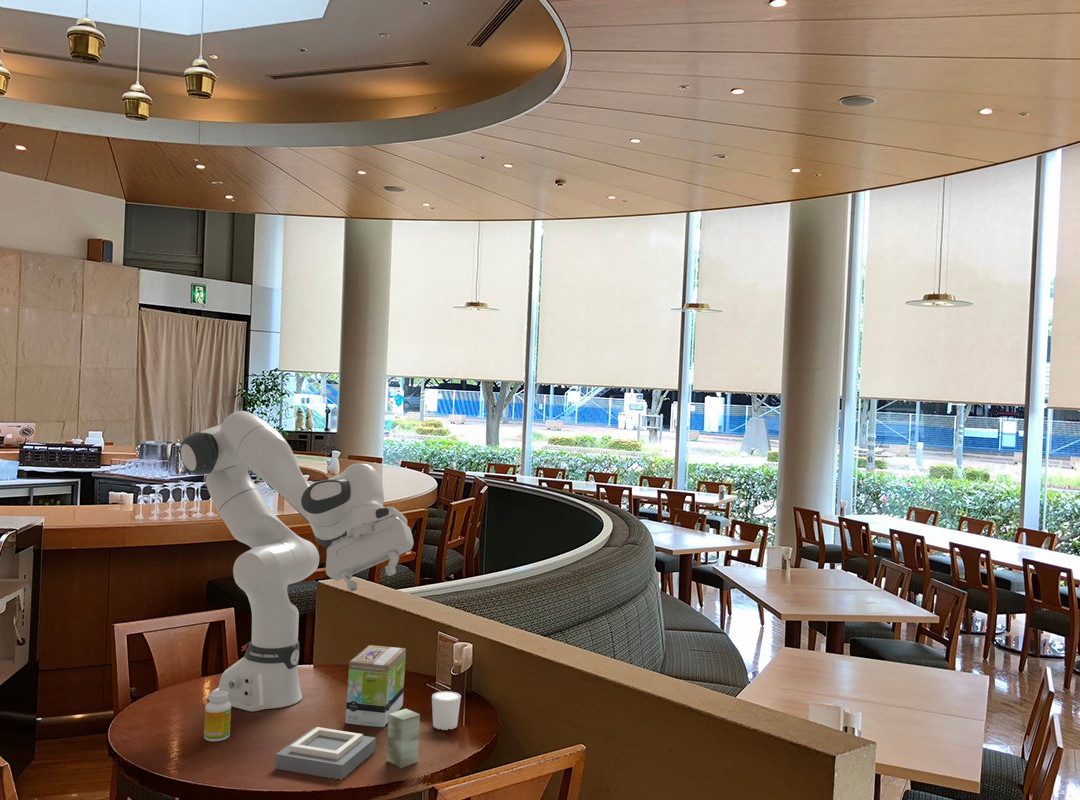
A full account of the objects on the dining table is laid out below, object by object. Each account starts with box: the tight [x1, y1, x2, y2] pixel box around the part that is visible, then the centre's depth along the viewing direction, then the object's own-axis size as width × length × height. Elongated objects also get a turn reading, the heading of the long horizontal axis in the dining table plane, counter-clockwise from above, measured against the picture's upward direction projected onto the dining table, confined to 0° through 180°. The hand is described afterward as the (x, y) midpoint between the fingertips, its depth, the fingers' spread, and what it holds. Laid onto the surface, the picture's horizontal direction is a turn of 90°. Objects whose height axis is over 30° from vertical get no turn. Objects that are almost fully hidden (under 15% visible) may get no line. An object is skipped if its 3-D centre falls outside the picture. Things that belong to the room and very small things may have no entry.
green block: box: [386, 708, 421, 769], centre depth 183 cm, size 5×5×10 cm
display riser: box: [274, 726, 377, 781], centre depth 182 cm, size 15×15×4 cm
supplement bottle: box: [203, 690, 232, 742], centre depth 191 cm, size 5×5×10 cm
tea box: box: [344, 644, 407, 728], centre depth 208 cm, size 15×10×15 cm
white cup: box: [431, 690, 462, 731], centre depth 204 cm, size 7×7×7 cm
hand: (371, 582), depth 183 cm, fingers open, 8 cm apart
